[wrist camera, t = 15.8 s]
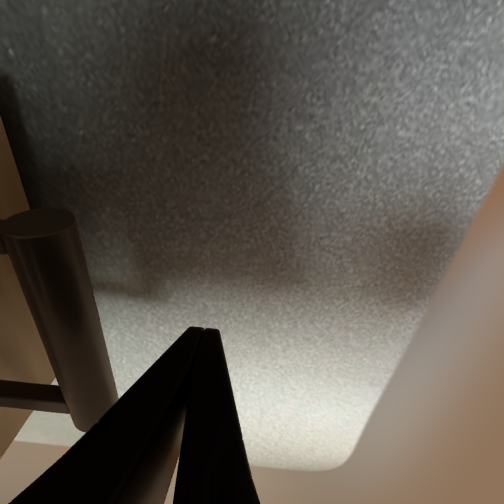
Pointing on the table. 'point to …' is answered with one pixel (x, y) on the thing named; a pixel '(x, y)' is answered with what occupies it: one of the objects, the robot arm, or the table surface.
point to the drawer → (46, 315)
